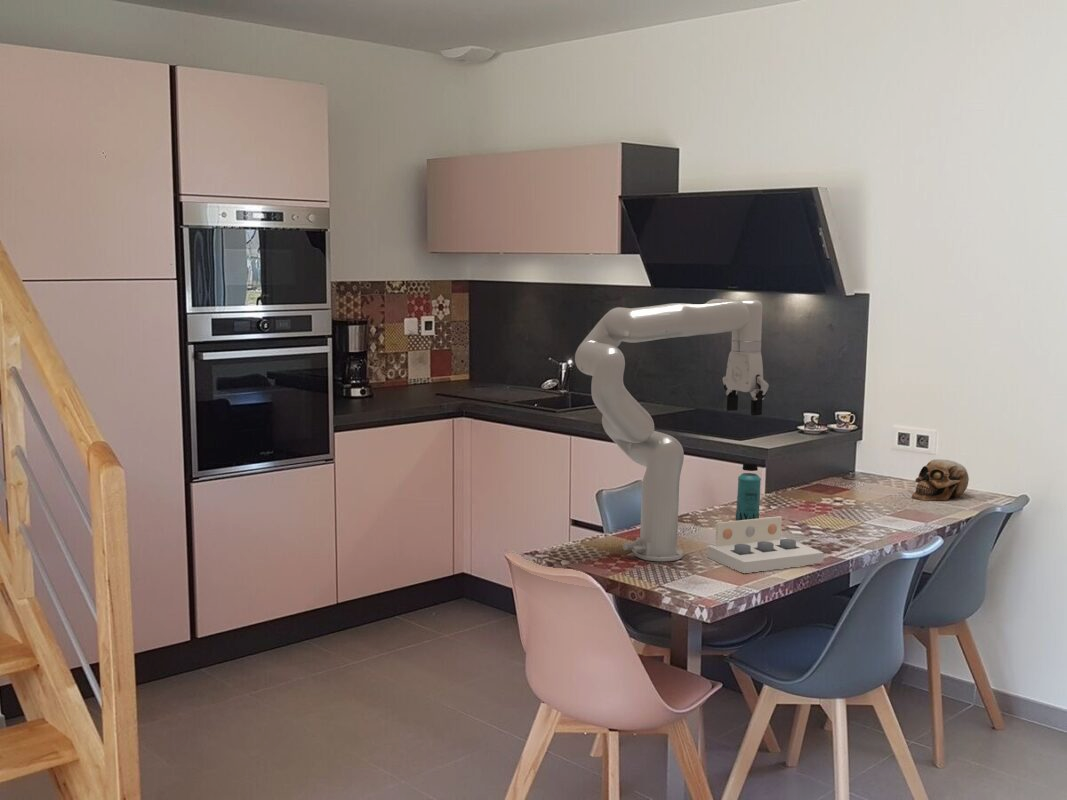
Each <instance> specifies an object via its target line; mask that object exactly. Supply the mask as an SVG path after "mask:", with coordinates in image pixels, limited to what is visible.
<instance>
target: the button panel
mask: <svg viewBox="0 0 1067 800" xmlns="http://www.w3.org/2000/svg"><path fill="white" fill-rule="evenodd" d="M782 523H783V516H781V515H779V516H770V517H769V516H768V517H759V518H758V519H748V520H738V521H736V520H730V521H721V522H720V521H719V522H718V521H717V522H716V523H715V539H714V540H715V543H714V544H713V545H707V555H706V556H707V558H708V559H710V560H713V561H714V562H716V563H719V564H721V565H724V566H725V567H727V566H728V568H729V567H730V568H729V569H732V570H734V569H735V570H734V571H736V570H738V571H739V573H740V572H742V573H750V572H757V571H765V570H773V569H781V568H790V567H797V566H803V565H808V564H814V563H821V562H823V563H824V559H825V557H824V556H825V554H824V551H821V550H818V549H815V548H813V547H810V546H808V545H806V544H805V545H804V544H802V543H800V542H797V541H796V549H788V550H785V549H783V548H780V540H781V539H788V538H787V537H785V536H784V537H782V525H783V524H782ZM762 541H765V542H771V543H773V544H774V547H773V551H771V552H761V551H759V550H757V544H758V542H762ZM736 544H746V545H749V546H751V552H750V554H746V555H739V554H736V553H734V546H735V545H736ZM790 569H791V568H790ZM738 571H737V572H738ZM742 573H741V574H742ZM750 574H751V573H750Z"/></svg>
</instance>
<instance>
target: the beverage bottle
mask: <svg viewBox="0 0 1067 800" xmlns="http://www.w3.org/2000/svg"><path fill="white" fill-rule="evenodd" d="M742 470H743V471H748V472H743V473H741V474H740V475H739V476H738V477H737V478H738V479H737V495H736V496H737V497H736V510H735V519H734V521H738V520H748V519H758V518H760V503H761V502H760V501H761V500H760V499H761V480H762V478H761V477H760V476H759V475H758V474H757V473H753V472H756V471H758V462H755V461H744V462H743V464H742Z"/></svg>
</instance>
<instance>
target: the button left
mask: <svg viewBox="0 0 1067 800" xmlns="http://www.w3.org/2000/svg"><path fill="white" fill-rule="evenodd" d="M750 552H751V546H749V545H746V544H736V545H735V546H734V553H736V554H739V555H746V554H750Z"/></svg>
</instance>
